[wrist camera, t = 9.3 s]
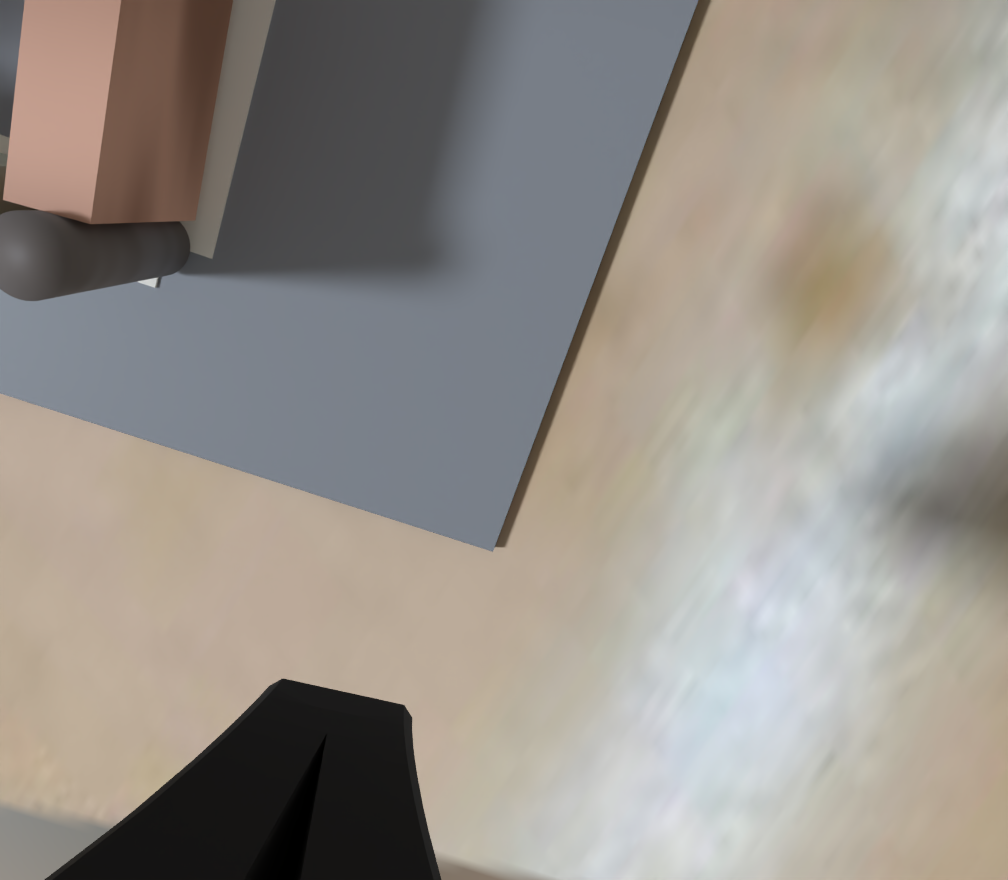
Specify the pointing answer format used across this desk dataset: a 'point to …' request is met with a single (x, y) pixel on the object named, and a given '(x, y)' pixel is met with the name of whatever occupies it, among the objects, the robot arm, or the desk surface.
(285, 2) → the card
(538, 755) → the desk surface
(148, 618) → the desk surface
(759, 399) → the desk surface
